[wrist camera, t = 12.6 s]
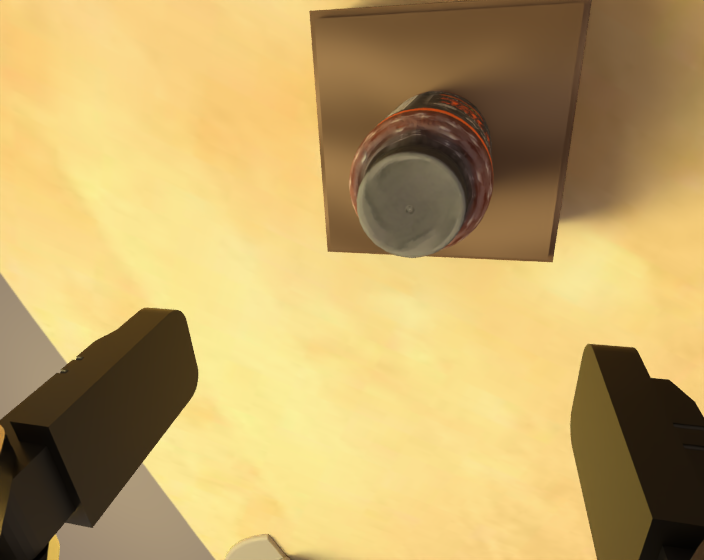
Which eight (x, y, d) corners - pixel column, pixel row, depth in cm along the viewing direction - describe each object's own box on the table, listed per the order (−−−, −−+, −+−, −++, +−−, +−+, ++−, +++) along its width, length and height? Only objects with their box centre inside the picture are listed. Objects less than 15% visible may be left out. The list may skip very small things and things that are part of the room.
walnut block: (339, 13, 32) (306, 10, 26) (570, -1, 29) (595, -8, 23) (349, 218, 38) (325, 255, 32) (540, 224, 35) (553, 266, 29)
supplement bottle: (515, 136, 26) (536, 201, 16) (441, 216, 29) (422, 313, 19) (428, 63, 26) (396, 85, 16) (362, 153, 28) (300, 219, 19)
